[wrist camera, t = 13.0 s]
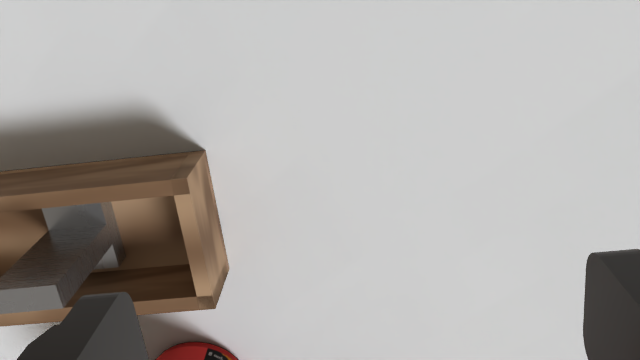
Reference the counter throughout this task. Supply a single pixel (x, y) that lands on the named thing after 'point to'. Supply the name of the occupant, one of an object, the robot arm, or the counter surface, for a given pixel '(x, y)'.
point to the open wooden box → (127, 229)
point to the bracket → (62, 258)
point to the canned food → (196, 352)
